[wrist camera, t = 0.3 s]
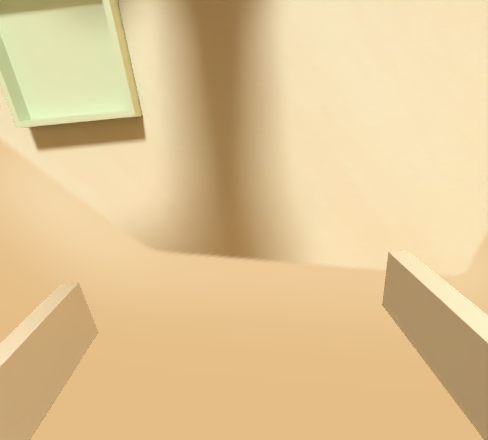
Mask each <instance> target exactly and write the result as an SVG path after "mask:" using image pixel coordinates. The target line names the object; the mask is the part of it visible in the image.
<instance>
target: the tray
mask: <svg viewBox="0 0 488 440" xmlns="http://www.w3.org/2000/svg"><path fill="white" fill-rule="evenodd" d="M0 87H1V90H2V92H3V95H4V97H5V100H6V103H7V105H8V108H9V110H10V113H11V115H12V118H13V121H14V123H15V126H16V128H24V127H37V126H47V125H57V124H68V123H78V122H88V121H98V120H108V119H118V118H128V117H139V116H142V111H141V106H140V102H139V97H138V93H137V88H136V83H135V79H134V74H133V69H132V65H131V60H130V56H129V51H128V46H127V42H126V37H125V33H124V28H123V23H122V19H121V14H120V9H119V5H118V0H0Z"/></svg>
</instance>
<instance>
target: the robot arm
mask: <svg viewBox="0 0 488 440" xmlns="http://www.w3.org/2000/svg"><path fill="white" fill-rule="evenodd" d="M382 305H383V307H384V308H385V309H386V311H387V312H388V313H389V315H390V316H391V317H392V318H393V320H394V321H395V323H396V324H397V325H398V327H399V328H400V329H401V330H402V332H403V333H404V334H405V336H406V337H407V338H408V340H409V341H410V342H411V344H412V345H413V346H414V348H415V349H416V350H417V352H418V353H419V354H420V355H421V357H422V358H423V360H424V361H425V362H426V364H427V365H428V366H429V367H430V369H431V370H432V371H433V373H434V374H435V375H436V377H437V378H438V379H439V381H440V382H441V383H442V384H443V386H444V387H445V389H446V390H447V391H448V393H449V394H450V395H451V397H452V398H453V399H454V401H455V402H456V403H457V405H458V406H459V407H460V409H461V410H462V411H463V412H464V414H465V415H466V416H467V418H468V419H469V420H470V422H471V423H472V424H473V426H474V427H475V428H476V430H477V431H478V432H479V434H480V435H481V436H482V438H483V439H484V440H488V316H487V314H485V313H484V312H483V311H482V310H480V309H479V308H478V307H477V306H475V305H474V304H473V303H472V302H470V301H469V300H468V299H467V298H466V297H464V296H463V295H462V294H460V293H459V292H458V291H457V290H456V289H454V288H453V287H452V286H451V285H449V284H448V283H447V282H446V281H444V280H443V279H442V278H441V277H440V276H438V275H437V274H436V273H435V272H433V271H432V270H431V269H430V268H428V267H427V266H426V265H425V264H423V263H422V262H421V261H420V260H418V259H417V258H416V257H415V256H414V255H412V254H411V253H410V252H409V251H407V250H405V251H395V252H389V253H388V262H387V270H386V279H385V287H384V296H383V304H382ZM97 334H98V331H97V328H96V326H95V323H94V321H93V318H92V315H91V313H90V310H89V308H88V305H87V303H86V300H85V298H84V295H83V293H82V290H81V288H80V285H79V283H71V284H61V285H60V286H59V287H58V288H57V289H56V290H55V291H54V292H53V293H51V295H50V296H48V298H46V299H45V300H44V301H43V302H42V303H41V304H40V305H39V306H38V307H37V308H36V309H35V310H34V311H33V312H32V313H31V314H30V315H29V316H28V317H27V318H26V319H25V320H24V321H23V322H22V323H21V324H20V325H19V326H18V327H17V328H16V329H15V330H14V331H12V333H10V334H9V335H8V336H7V337H6V338H5V339H4V340H3V341H2V342H1V343H0V440H30V439H31V438H32V436H33V435H34V433H35V432H36V430H37V429H38V427H39V425H40V423H41V422H42V421H43V419H44V417H45V416H46V414H47V413H48V411H49V410H50V408H51V406H52V405H53V403H54V401H55V400H56V398H57V397H58V395H59V394H60V392H61V391H62V389H63V387H64V386H65V384H66V382H67V381H68V379H69V378H70V376H71V375H72V373H73V371H74V370H75V368H76V367H77V365H78V364H79V362H80V360H81V359H82V357H83V356H84V354H85V353H86V351H87V349H88V348H89V346H90V345H91V343H92V341H93V340H94V338H95V337H96V335H97Z"/></svg>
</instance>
